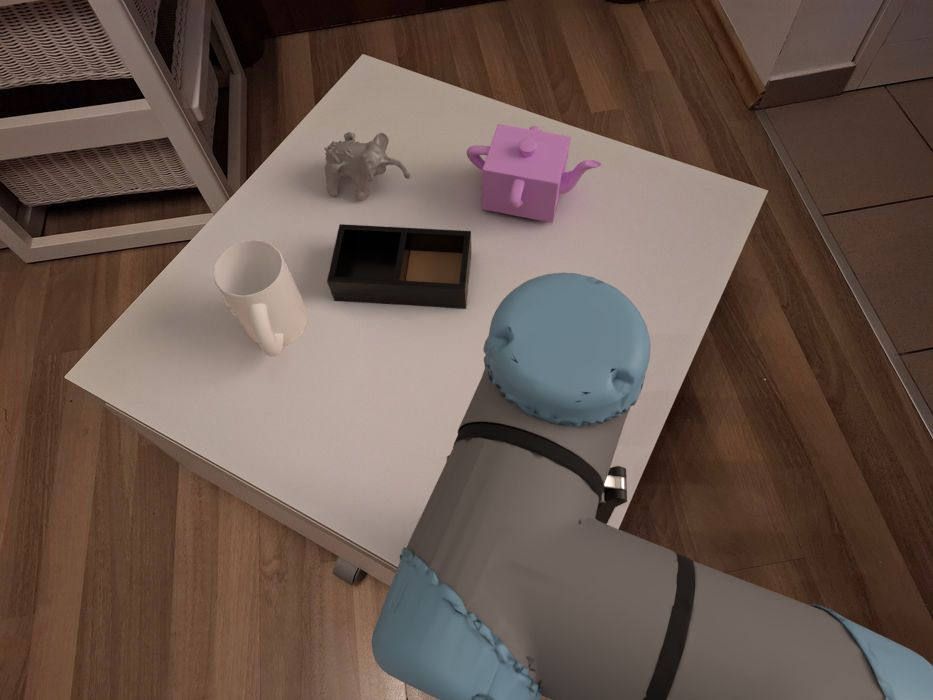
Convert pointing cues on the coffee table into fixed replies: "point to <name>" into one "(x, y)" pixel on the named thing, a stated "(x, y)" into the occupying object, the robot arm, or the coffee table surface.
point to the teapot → (526, 171)
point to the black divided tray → (401, 266)
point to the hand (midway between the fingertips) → (522, 530)
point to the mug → (261, 294)
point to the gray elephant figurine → (358, 162)
